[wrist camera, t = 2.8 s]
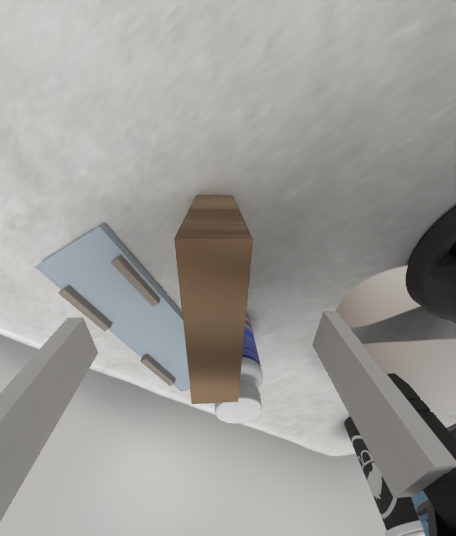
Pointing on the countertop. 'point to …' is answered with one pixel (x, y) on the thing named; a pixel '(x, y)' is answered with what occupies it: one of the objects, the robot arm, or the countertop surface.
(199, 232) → the frame
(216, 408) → the pill bottle
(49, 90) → the countertop surface
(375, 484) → the coffee cup
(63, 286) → the ledge
